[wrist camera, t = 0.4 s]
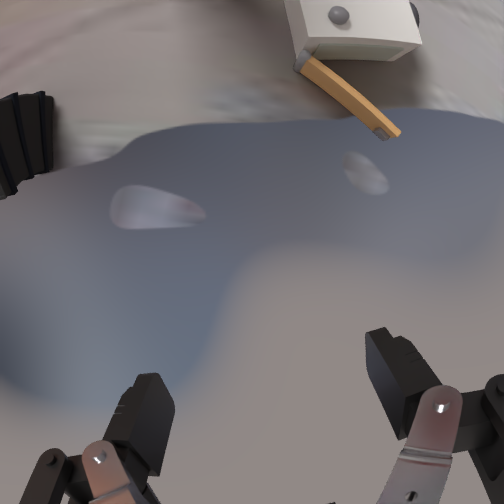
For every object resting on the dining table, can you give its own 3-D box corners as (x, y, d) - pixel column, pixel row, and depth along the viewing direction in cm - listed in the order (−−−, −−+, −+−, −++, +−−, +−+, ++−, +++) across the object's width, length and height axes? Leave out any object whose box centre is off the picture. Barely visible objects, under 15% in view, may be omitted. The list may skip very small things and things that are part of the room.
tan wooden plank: (297, 61, 31) (304, 47, 26) (384, 133, 33) (403, 130, 28) (289, 70, 31) (295, 57, 26) (377, 142, 33) (395, 140, 29)
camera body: (284, 2, 28) (292, -33, 20) (388, 7, 27) (416, -19, 19) (297, 62, 31) (310, 36, 22) (404, 64, 30) (439, 46, 22)
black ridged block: (50, 72, 28) (-22, 109, 17) (69, 153, 37) (15, 213, 26) (31, 80, 28) (-40, 119, 17) (51, 157, 37) (-3, 216, 26)
